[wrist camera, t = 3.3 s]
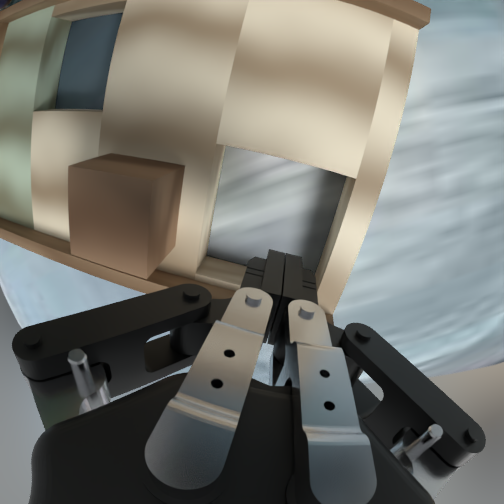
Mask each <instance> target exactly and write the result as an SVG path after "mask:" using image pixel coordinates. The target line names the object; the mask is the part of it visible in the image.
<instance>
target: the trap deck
mask: <svg viewBox="0 0 504 504" xmlns="http://www.w3.org/2000/svg"><path fill="white" fill-rule="evenodd" d="M117 13H123V15H122V19H121V23H120V26H119V30H118V34H117V38H116V42H115V46H114V50H113V55H112V59H111V64H110V69H109V74H108V80H107V86H106V92H105V98H104V105H103V110H98V109H55V105H56V97H57V90H58V83H59V77H60V71H61V66H62V61H63V56H64V51H65V47H66V42H67V38H68V34H69V30H70V27H71V23H72V21H76V20H81V19H86V18H91V17H97V16H103V15H109V14H117ZM430 13H431V9H430V8H428V7H426V6H424V5H422V4H420V3H418V2H416V1H413V0H22V1H20V2H18V3H16V4H14V5H12V6H10V7H8V8H6V9H4V10H2V11H0V238H2V239H4V240H6V241H9V242H11V243H13V244H15V245H18V246H20V247H22V248H25V249H27V250H29V251H32V252H34V253H37V254H39V255H41V256H44V257H46V258H49V259H51V260H54V261H56V262H59V263H61V264H64V265H67V266H69V267H72V268H74V269H77V270H80V271H82V272H85V273H88V274H90V275H93V276H96V277H99V278H102V279H104V280H107V281H110V282H113V283H116V284H119V285H122V286H124V287H127V288H130V289H133V290H136V291H139V292H143V293H146V294H149V293H152V292H156V291H159V290H163V289H166V288H170V287H174V286H177V285H181V284H197V285H200V286H202V287H204V288H206V289H207V290H208V291H209V292H210V293H211V295H212V299H227V298H231V297H233V296H234V294H235V292H236V291H237V290H239V289H240V286H241V283H242V280H243V277H244V274H245V271H246V268H247V266H243V265H240V264H236V263H232V262H228V261H224V260H220V259H216V258H213V257H209V256H207V250H208V244H209V237H210V231H211V225H212V219H213V213H214V207H215V201H216V196H217V190H218V184H219V179H220V174H221V168H222V163H223V158H224V152H225V147H226V146H231V147H236V148H240V149H245V150H250V151H254V152H259V153H263V154H267V155H272V156H276V157H280V158H284V159H288V160H292V161H296V162H300V163H304V164H307V165H311V166H315V167H318V168H322V169H325V170H329V171H332V172H336V173H339V174H342V175H346V176H347V177H346V181H345V184H344V187H343V191H342V194H341V197H340V200H339V204H338V207H337V210H336V213H335V216H334V220H333V223H332V226H331V229H330V232H329V235H328V238H327V241H326V244H325V247H324V250H323V253H322V255H321V258H320V261H319V264H318V267H317V270H316V273H315V277H316V286H317V296H318V306H320V307H321V308H322V309H323V311H324V312H325V316H326V320H327V322H328V323H330V324H332V325H334V322H333V313H334V310H335V308H336V306H337V304H338V301H339V299H340V297H341V295H342V292H343V290H344V287H345V285H346V283H347V280H348V278H349V276H350V273H351V271H352V268H353V266H354V263H355V261H356V258H357V256H358V253H359V250H360V248H361V245H362V243H363V240H364V237H365V234H366V232H367V229H368V226H369V223H370V221H371V218H372V215H373V212H374V209H375V206H376V203H377V200H378V197H379V194H380V191H381V188H382V185H383V182H384V179H385V176H386V172H387V169H388V166H389V162H390V159H391V155H392V152H393V148H394V145H395V141H396V138H397V134H398V130H399V126H400V122H401V118H402V114H403V110H404V106H405V101H406V97H407V93H408V88H409V83H410V78H411V73H412V68H413V63H414V57H415V51H416V45H417V39H418V32H419V30H420V29H421V28H423V27H424V26H426V25H427V24H429V22H430ZM109 153H114V154H121V155H127V156H134V157H140V158H146V159H152V160H158V161H164V162H169V163H175V164H180V165H185V171H184V178H183V185H182V192H181V200H180V208H179V216H178V225H177V234H176V244H175V247H174V248H173V249H172V251H171V252H170V253H169V254H168V255H167V256H166V257H165V259H164V260H163V261H162V262H161V263H160V264H159V265H158V267H157V268H156V269H155V270H154V271H153V272H152V274H151V275H150V276H149V277H148V278H147V279H144V278H141V277H138V276H135V275H131V274H128V273H125V272H122V271H119V270H116V269H113V268H110V267H107V266H104V265H101V264H98V263H95V262H92V261H89V260H86V259H84V258H81V257H78V256H75V255H72V254H71V246H70V233H69V214H68V166H69V165H72V164H76V163H79V162H82V161H85V160H88V159H92V158H95V157H99V156H102V155H106V154H109Z"/></svg>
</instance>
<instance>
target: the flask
mask: <svg viewBox="0 0 504 504" xmlns="http://www.w3.org/2000/svg"><path fill="white" fill-rule="evenodd" d="M11 1H12V0H0V9H3V8H5V7H7V6H8V4H9V3H10V2H11Z"/></svg>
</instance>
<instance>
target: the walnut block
mask: <svg viewBox="0 0 504 504" xmlns="http://www.w3.org/2000/svg"><path fill="white" fill-rule="evenodd" d="M184 171H185V165H180V164H175V163H169V162H164V161H158V160H152V159H146V158H140V157H134V156H127V155H121V154H114V153H109V154H106V155H102V156H99V157H95V158H92V159H88V160H85V161H82V162H79V163H76V164H72V165H69V166H68V214H69V233H70V246H71V254H72V255H75V256H78V257H81V258H84V259H86V260H89V261H92V262H95V263H98V264H101V265H104V266H107V267H110V268H113V269H116V270H119V271H122V272H125V273H128V274H131V275H135V276H138V277H141V278H144V279H147V278H148V277H149V276H150V275H151V274H152V272H153V271H154V270H155V269H156V268H157V267H158V265H159V264H160V263H161V262H162V261H163V260H164V259H165V257H166V256H167V255H168V254H169V253H170V252H171V251H172V249H173V248H174V247H175V244H176V234H177V225H178V216H179V208H180V200H181V192H182V185H183V178H184Z"/></svg>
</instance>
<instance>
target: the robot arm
mask: <svg viewBox="0 0 504 504" xmlns="http://www.w3.org/2000/svg"><path fill="white" fill-rule="evenodd" d="M167 331H170V334H168V335H166V336H163V337H160V338H157V339H155V340H152V341H149V342H147V340H149V339H150V338H151V337H153V336H156V335H159V334H162V333H164V332H167ZM268 335H269V337H268ZM267 338H268V343H267V344H271V345H274V348H273V352H272V355H271V357H270V370H269V385H266V384H264V383H262V382H259V381H257V380H255V379H252V375H253V372H254V368H255V365H256V362H257V358H258V355H259V351H260V350H261V347H262V343H266V341H267ZM12 348H13V351H14V354H15V356H16V358H17V360H18V362H19V364H20V369H21V371H22V374H23V375H24V378H25V379H26V381H27V383H28V385H29V387H30V389H31V391H32V393H33V396H34V399H35V403H36V405H37V408H38V411H39V414H40V417H41V420H42V422H43V425H44V428H45V430H46V431H45V432H44V433H43V434H42V435H41V436H40V438H39V439H38V440H37V442H36V444H35V446H34V449H33V452H32V459H31V460H32V461H31V464H32V487H31V495H30V500H29V504H435V502H434V499H435V498H436V496H437V495H438V494H439V493H440V491H441V490H442V489H443V487H444V486H445V485H446V483H447V482H448V481H449V479H450V478H451V476H452V475H453V474H454V472H455V471H456V470H458V469H459V468H460V467H462V466H463V465H464V464H466V463H467V462H468V461H469V460H471V459H472V458H473V457H475V456H476V455H477V454H478V453H479V452H481V451H482V450H483V448H484V447H485V441H486V439H485V434H484V432H483V430H482V428H481V427H480V426H479V425H478V424H477V423H476V422H475V421H474V420H473V419H472V418H471V417H470V416H469V415H468V414H466V413H465V412H464V411H463V410H462V409H461V408H460V407H459V406H458V405H457V404H456V403H454V402H453V401H452V400H451V399H450V398H449V397H448V396H447V395H446V394H445V393H444V392H443V391H441V390H440V389H439V388H438V387H437V386H436V385H435V384H434V383H433V382H432V381H430V380H429V379H428V378H427V377H426V376H425V375H424V374H423V373H422V372H421V371H419V370H418V369H417V368H416V367H415V366H414V365H413V364H412V363H410V362H409V361H408V360H407V359H406V358H405V357H404V356H403V355H402V354H400V353H399V352H398V351H397V350H396V349H395V348H394V347H392V346H391V345H390V344H389V343H388V342H387V341H386V340H385V339H383V338H382V337H381V336H380V335H379V334H378V333H377V332H375V331H374V330H373V329H372V328H370V327H369V326H367V325H364V324H361V323H351V324H348V325H347V326H346V328H345V330H343V329H341V328H338V327H336V326H334V325H332V324H330V323H328V322H327V320H326V316H325V312H324V311H323V309H322V308H321V307H320V306H318V296H317V286H316V277H315V275H314V274H313V273H312V271H311V270H308V269H304V268H302V257H299V256H295V255H291V254H287V253H286V255H285V253H283V252H279V251H275V250H270V249H269V252H268V256H267V259H262V258H258V257H254V258H253V259H251V260H249V262H248V265H247V268H246V271H245V274H244V277H243V280H242V283H241V286H240V289H239V290H237V291H236V292H235V294H234V296H233V297H231V298H227V299H212V295H211V293H210V292H209V291H208V290H207V289H206V288H204V287H202V286H200V285H197V284H181V285H177V286H174V287H170V288H166V289H163V290H159V291H156V292H152V293H149V294H145V295H142V296H138V297H134V298H131V299H127V300H124V301H120V302H116V303H113V304H109V305H106V306H102V307H98V308H95V309H91V310H87V311H84V312H80V313H76V314H73V315H69V316H65V317H62V318H58V319H54V320H50V321H47V322H43V323H39V324H35V325H32V326H28V327H25V328H23V329H22V330H20V331H19V332H18V333H17V334H16V335H15V337H14V339H13V342H12ZM190 365H192V366H191V368H190V370H189V372H188V373H180V374H176V375H172V376H169V377H167V378H164V379H162V380H160V381H158V382H156V383H153V384H151V385H149V386H147V387H145V388H142V389H140V390H138V391H136V392H134V393H131V394H129V395H127V396H124V397H122V398H120V399H117V400H115V401H113V402H110V400H111V398H113V397H115V396H118V395H121V394H123V393H126V392H128V391H131V390H133V389H136V388H138V387H141V386H143V385H146V384H148V383H151V382H153V381H155V380H158V379H160V378H163V377H165V376H167V375H170V374H172V373H174V372H176V371H179V370H181V369H183V368H186V367H188V366H190ZM363 370H364V371H365V372H366V373H367V374H368V375H369V376H370V377H371V378H372V379H373V380H374V381H375V382H376V383H377V384H378V385H379V386H380V387H381V388H382V390H383V393H384V397H383V400H382V401H380V400H379V399H378V398H377V397H375V395H374V394H373V393H372V392H371V391H370V390H369V389H368V388H366V386H365V385H364V384H363V383H362V382H361V381H360V380H359V379H358V378H359V377H360V375H361V374H362V372H363Z"/></svg>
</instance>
